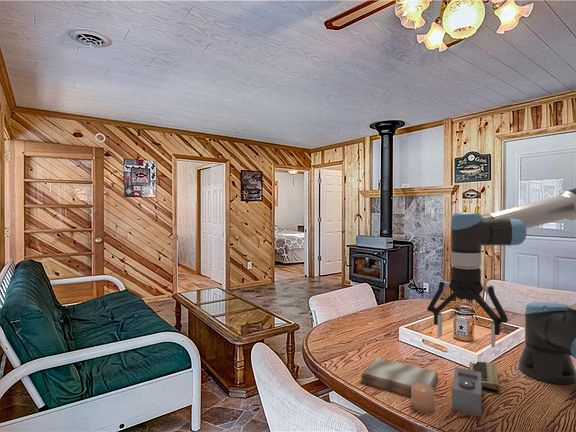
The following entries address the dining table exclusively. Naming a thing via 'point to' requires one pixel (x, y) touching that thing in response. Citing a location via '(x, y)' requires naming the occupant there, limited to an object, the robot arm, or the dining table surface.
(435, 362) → the dining table surface
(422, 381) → the stand
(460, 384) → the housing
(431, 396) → the beige egg
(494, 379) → the computer
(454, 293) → the robot arm
